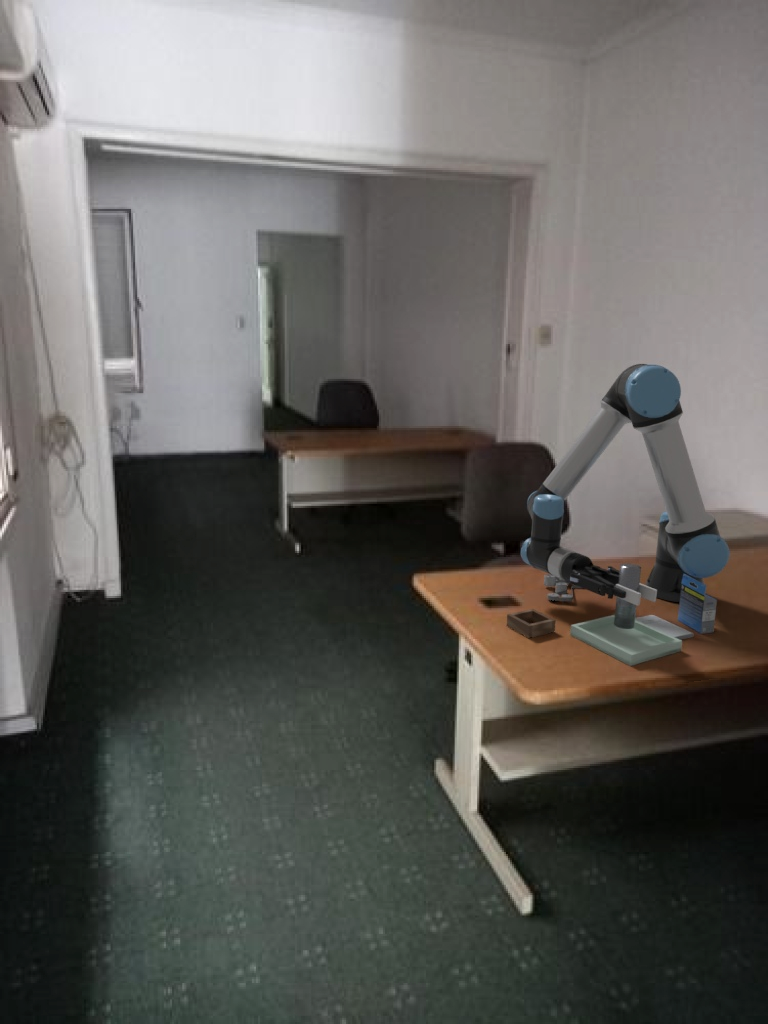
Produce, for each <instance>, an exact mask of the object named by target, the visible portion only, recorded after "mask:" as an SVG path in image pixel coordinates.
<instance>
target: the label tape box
mask: <svg viewBox="0 0 768 1024" xmlns="http://www.w3.org/2000/svg"><path fill="white" fill-rule="evenodd" d="M690 582H691V583H694V584H695V585H697V588H695V587H693V586H692V585H690ZM707 586H708V585H706V584H705V583H704V584H703V583H701V582H699V581H697V580H695V579H693V578H691V577H689V576H687V575H686V574H684V575H683V579H682V583H681V594H680V602H679V606H678V613H677V614H678V616H677V621H678V622H680V623H682V624H683V625H685V626H688V627H689V628H691V629H692V630H693V631H695V632H697V633H699V634H710V633H714V631H715V621H716V613H717V602H718V599H717V598H714V597H713V596H710V595H708V594H706V590H707Z"/></svg>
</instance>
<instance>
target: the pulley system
mask: <svg viewBox="0 0 768 1024" xmlns="http://www.w3.org/2000/svg"><path fill="white" fill-rule="evenodd" d="M567 585H569V586H570V583H569V582H567V581H565V580H560V579H559V578H558V577H556V576H553V575H551V574H549V573H547V574H544V575H543V586H546V587H551V588H552V587H554V586H556V587H555V589H554V590H555V591H554V592H552V593H550V592H549V593H547V594H546V596H547V597H546V599H547V600H549V601H551V600H552V601H554V600H555V601H557V602H558V601H560V602H573V601H574V595H573V594H574V593H573V591H571V594H567V593H568V586H567ZM614 587H615V586H614ZM572 588H573V589H582V587H580V586H576V585H573V584H572V585H571V589H572ZM555 592H556V593H555ZM560 595H561V597H560Z"/></svg>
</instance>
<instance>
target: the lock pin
mask: <svg viewBox="0 0 768 1024" xmlns="http://www.w3.org/2000/svg"><path fill="white" fill-rule="evenodd" d="M619 571H620V573H619V582H618V584H619V585H621V586H624V587H627V588H629V589H632V590H634V591H636V592H638V590H639V583H641V582H640V581H641V573H642V567H641V565H639V564H634V563H621V564H620V566H619ZM615 602H616V603H615V609H614V615H615V617H614V625H615V626H616V627H619V628H622V629H632V628H634V624H635V618H636V613H637V605H635V604H632V603H630V602H627V601H625V600H623V599H620V598H618V597H616V601H615Z"/></svg>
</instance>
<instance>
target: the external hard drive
mask: <svg viewBox="0 0 768 1024" xmlns="http://www.w3.org/2000/svg"><path fill="white" fill-rule="evenodd" d="M635 620H636V621H639V622H641V623H643V624H645V625H648V626H650V627H652V628H654V629H657V630H659V631H661V632H664V633H666V634H668V635H670V636H673V637H675V638H677V639H679V640H686V639H689V638H694V632H691V631H689V630H687V629H685V628H683V627H680V626H679V625H677V624H674V623H672V622H669V621H667V620H665V619H664V618H661V617H659V616H656V615H655V614H648V615H644V616H638V617H635Z"/></svg>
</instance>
